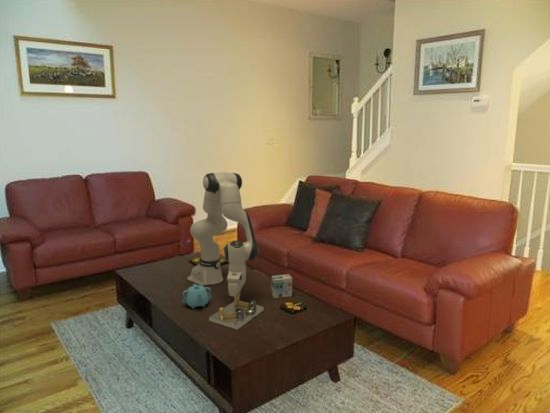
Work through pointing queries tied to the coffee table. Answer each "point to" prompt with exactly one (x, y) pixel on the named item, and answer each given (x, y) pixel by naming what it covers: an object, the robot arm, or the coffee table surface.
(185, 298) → the teapot
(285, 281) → the light bulb box
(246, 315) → the plate
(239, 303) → the knob
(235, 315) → the knob
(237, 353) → the coffee table surface
